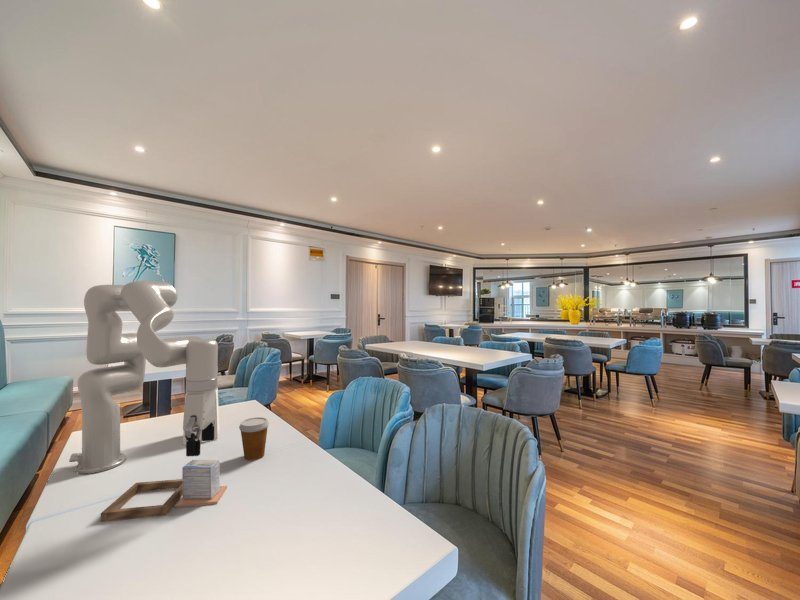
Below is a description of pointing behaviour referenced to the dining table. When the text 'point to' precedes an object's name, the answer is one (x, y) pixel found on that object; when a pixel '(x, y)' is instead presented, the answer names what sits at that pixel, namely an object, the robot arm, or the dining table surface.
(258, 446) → the disposable coffee cup
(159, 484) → the board
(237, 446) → the dining table surface
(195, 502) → the terracotta tile
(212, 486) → the medicine box
